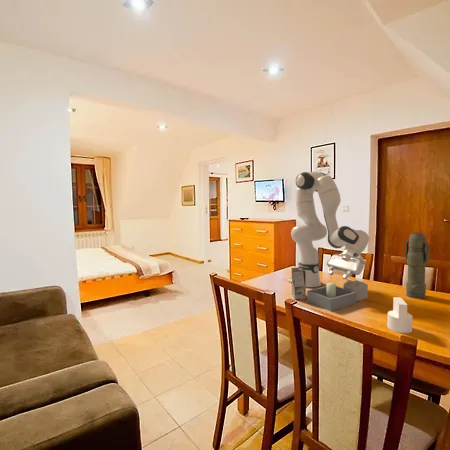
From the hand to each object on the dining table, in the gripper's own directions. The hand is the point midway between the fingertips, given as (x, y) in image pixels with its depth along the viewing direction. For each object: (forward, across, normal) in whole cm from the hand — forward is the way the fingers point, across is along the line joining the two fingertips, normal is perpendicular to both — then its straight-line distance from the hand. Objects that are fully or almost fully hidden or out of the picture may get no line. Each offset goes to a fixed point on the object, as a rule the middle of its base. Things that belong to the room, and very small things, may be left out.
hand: (337, 276), depth 155 cm
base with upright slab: (+12, +36, +7) cm, 39 cm away
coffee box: (+19, -15, 0) cm, 25 cm away
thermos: (-20, +18, +38) cm, 47 cm away
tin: (+12, 0, +6) cm, 13 cm away
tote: (+13, 0, +6) cm, 14 cm away
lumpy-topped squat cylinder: (+1, +1, +18) cm, 19 cm away
